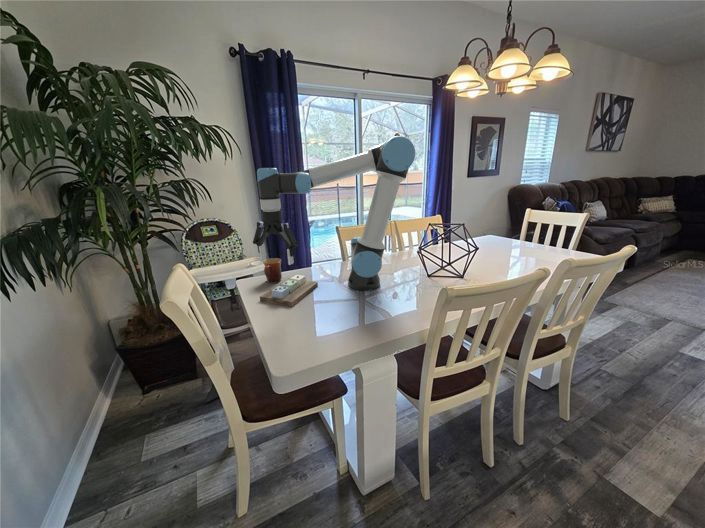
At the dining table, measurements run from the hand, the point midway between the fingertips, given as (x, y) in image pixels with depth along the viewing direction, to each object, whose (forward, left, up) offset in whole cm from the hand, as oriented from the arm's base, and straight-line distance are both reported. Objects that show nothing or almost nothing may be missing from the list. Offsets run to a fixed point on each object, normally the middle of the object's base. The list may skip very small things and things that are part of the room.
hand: (277, 262), depth 118 cm
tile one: (0, -14, -15) cm, 20 cm away
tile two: (0, -7, -15) cm, 16 cm away
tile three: (0, 0, -15) cm, 15 cm away
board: (0, -7, -17) cm, 18 cm away
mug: (+16, -16, -17) cm, 28 cm away
